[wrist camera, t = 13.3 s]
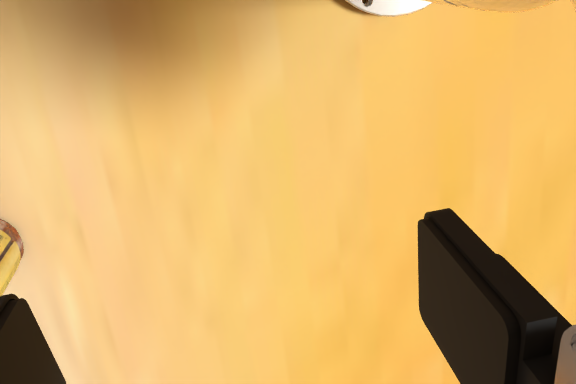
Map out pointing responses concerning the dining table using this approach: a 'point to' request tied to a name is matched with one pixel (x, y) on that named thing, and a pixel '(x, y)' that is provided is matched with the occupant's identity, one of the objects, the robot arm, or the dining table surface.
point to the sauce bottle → (9, 253)
